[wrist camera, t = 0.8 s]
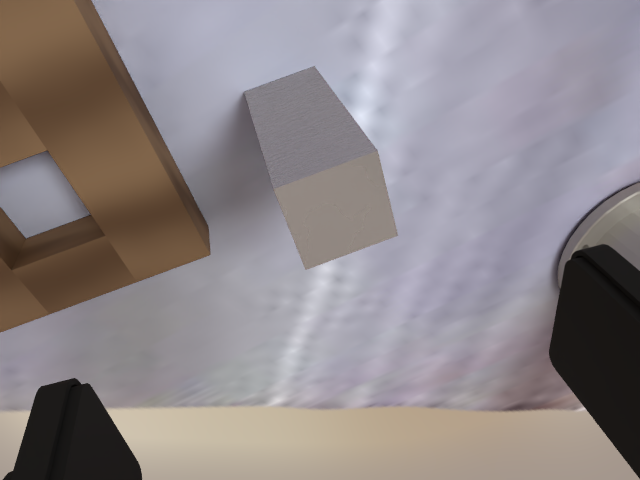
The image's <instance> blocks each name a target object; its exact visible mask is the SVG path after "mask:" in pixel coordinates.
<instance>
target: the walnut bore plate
mask: <svg viewBox="0 0 640 480" xmlns="http://www.w3.org/2000/svg"><path fill="white" fill-rule="evenodd" d="M47 150H48V152H49V153H50V155H51V156H52V158H53V159H54V161H55V162H56V164H57V165H58V167H59V168H60V170H61V171H62V173H63V174H64V175H65V177H66V178H67V180H68V181H69V183H70V184H71V186H72V187H73V189H74V190H75V192H76V193H77V195H78V196H79V198H80V199H81V200H82V202H83V203H84V205H85V206H86V208H87V209H88V211H89V212H90V214H91V215H89V216H87V217H84V218H81V219H78V220H76V221H73V222H70V223H68V224H65V225H62V226H59V227H57V228H54V229H51V230H48V231H46V232H43V233H40V234H38V235H35V236H32V237H29V238H27V239H25V237H24V236H23V235H22V234H21V232H20V231H19V230H18V229H17V227H16V226H15V225H14V224H13V222H12V221H11V220H10V219H9V217H8V216H7V215H6V214H5V212H4V211H3V210H2V209H1V207H0V332H3V331H6V330H8V329H11V328H14V327H16V326H19V325H22V324H25V323H27V322H30V321H33V320H35V319H38V318H41V317H44V316H46V315H49V314H52V313H54V312H57V311H60V310H62V309H65V308H68V307H71V306H73V305H76V304H79V303H81V302H84V301H87V300H90V299H92V298H95V297H98V296H100V295H103V294H106V293H108V292H111V291H114V290H117V289H119V288H122V287H125V286H127V285H130V284H133V283H136V282H138V281H141V280H144V279H146V278H149V277H152V276H154V275H157V274H160V273H163V272H165V271H168V270H171V269H173V268H176V267H179V266H182V265H184V264H187V263H190V262H192V261H195V260H198V259H201V258H203V257H206V256H209V255H210V242H209V229H208V225H207V223H206V221H205V219H204V217H203V215H202V213H201V211H200V210H199V208H198V206H197V204H196V202H195V200H194V198H193V196H192V194H191V192H190V190H189V188H188V186H187V184H186V182H185V181H184V179H183V177H182V175H181V173H180V171H179V169H178V167H177V165H176V163H175V161H174V159H173V157H172V155H171V154H170V152H169V150H168V148H167V146H166V144H165V142H164V140H163V138H162V136H161V134H160V132H159V130H158V128H157V127H156V125H155V123H154V121H153V119H152V117H151V115H150V113H149V111H148V109H147V107H146V105H145V103H144V101H143V99H142V98H141V96H140V94H139V92H138V90H137V88H136V86H135V84H134V82H133V80H132V78H131V76H130V74H129V72H128V71H127V69H126V67H125V65H124V63H123V61H122V59H121V57H120V55H119V53H118V51H117V49H116V47H115V45H114V43H113V42H112V40H111V38H110V36H109V34H108V32H107V30H106V28H105V26H104V24H103V22H102V20H101V18H100V16H99V15H98V13H97V11H96V9H95V7H94V5H93V3H92V1H91V0H0V167H3V166H5V165H8V164H11V163H14V162H16V161H19V160H22V159H25V158H27V157H30V156H33V155H36V154H38V153H41V152H44V151H47Z"/></svg>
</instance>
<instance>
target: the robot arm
mask: <svg viewBox="0 0 640 480" xmlns="http://www.w3.org/2000/svg"><path fill="white" fill-rule="evenodd" d="M557 277H558V285H559V288H560V294H559V299H558V305H557V310H556V316H555V321H554V327H553V332H552V338H551V343H550V349H549V356H550V360H551V362H552V365H553V366H554V368H555V369H556V371H557V372H558V373H559V375H560V376H561V377H562V379H563V380H564V381H565V382H566V384H567V385H568V386H569V388H570V389H571V390H572V391H573V393H574V394H575V395H576V397H577V398H578V399H579V401H580V402H581V403H582V404H583V406H584V407H585V408H586V410H587V411H588V412H589V414H590V415H591V416H592V417H593V419H595V421H596V423H597V424H598V425H599V426H600V428H601V429H602V430H603V432H604V433H605V434H606V436H607V437H608V438H609V439H610V441H611V442H612V443H613V445H614V446H615V447H616V448H617V450H618V451H619V452H620V454H621V455H622V456H623V458H624V459H625V460H626V461H627V463H628V464H629V465H630V467H631V468H632V469H633V471H634V472H635V473H636V474H637V476H638V477H639V478H640V183H637V184H634V185H632V186H630V187H628V188H626V189H624V190H622V191H620V192H618V193H617V194H615V195H614V196H612V197H611V198H609V199H608V200H606V201H605V202H604V203H602V204H601V205H600V206H599V207H598V208H596V209H595V210H594V211H593V212H592V213H591V214H590V215H589V216H588V217H587V218H586V219H585V220H584V221H583V222H582V223H581V224H580V225H579V227H578V228H577V230H576V231H575V232H574V234H573V235H572V236H571V238H570V240H569V241H568V243H567V245H566V247H565V249H564V251H563V254H562V257H561V260H560V263H559V267H558V276H557ZM3 480H142V473H141V468H140V465H139V463H138V461H137V460H136V458H135V456H134V455H133V453H132V451H131V450H130V448H129V446H128V445H127V443H126V442H125V440H124V438H123V437H122V435H121V434H120V432H119V430H118V429H117V427H116V425H115V424H114V422H113V421H112V419H111V417H110V416H109V414H108V412H107V411H106V409H105V408H104V406H103V404H102V403H101V401H100V399H99V398H98V396H97V395H96V393H95V391H94V390H93V388H92V387H91V385H90V384H88V383H86V384H82V385H81V383H80V382H79V381H78V380H77V379H75V378H73V379H69V380H65V381H61V382H57V383H53V384H49V385H45V386H41V387H40V388H39V389H38V391H37V393H36V396H35V399H34V403H33V406H32V409H31V413H30V416H29V419H28V423H27V427H26V430H25V433H24V436H23V440H22V443H21V446H20V450H19V453H18V457H17V460H16V463H15V467H14V470H13V471H12V472H9V473H8V474H7V475H6V476H5V478H4V479H3Z"/></svg>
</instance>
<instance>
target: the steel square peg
mask: <svg viewBox="0 0 640 480" xmlns="http://www.w3.org/2000/svg"><path fill="white" fill-rule="evenodd" d="M244 94H245V97H246V100H247V104H248V107H249V110H250V113H251V117H252V120H253V123H254V127H255V130H256V133H257V137H258V140H259V143H260V146H261V150H262V153H263V156H264V160H265V163H266V166H267V170H268V173H269V176H270V179H271V183H272V186H273V189H274V192H275V194H276V197H277V199H278V202H279V204H280V207H281V209H282V212H283V214H284V217H285V219H286V222H287V224H288V227H289V229H290V232H291V234H292V237H293V239H294V242H295V244H296V247H297V249H298V252H299V254H300V257H301V259H302V262H303V264H304V267H305V270H307V269H309V268H312V267H315V266H317V265H320V264H323V263H326V262H328V261H331V260H334V259H336V258H339V257H342V256H344V255H347V254H350V253H352V252H355V251H358V250H361V249H363V248H366V247H369V246H371V245H374V244H377V243H379V242H382V241H385V240H387V239H390V238H393V237H396V236H398V234H397V230H396V225H395V221H394V217H393V213H392V209H391V205H390V200H389V196H388V192H387V188H386V184H385V180H384V175H383V171H382V167H381V163H380V159H379V154H378V151H377V149H376V148H375V147H374V145H373V144H372V143H371V141H370V140H369V139H368V137H367V136H366V135H365V133H364V132H363V131H362V129H361V128H360V126H359V125H358V124H357V122H356V121H355V120H354V118H353V117H352V116H351V114H350V113H349V112H348V110H347V109H346V108H345V106H344V105H343V104H342V102H341V101H340V100H339V98H338V97H337V96H336V94H335V93H334V92H333V90H332V89H331V88H330V86H329V85H328V84H327V82H326V81H325V80H324V78H323V77H322V75H321V74H320V73H319V71H318V70H317V69H316V67H315V66H313V67H311V68H308V69H305V70H302V71H300V72H297V73H294V74H291V75H289V76H286V77H283V78H281V79H278V80H275V81H272V82H270V83H267V84H264V85H261V86H259V87H256V88H253V89H250V90H248V91H245V92H244Z"/></svg>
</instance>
